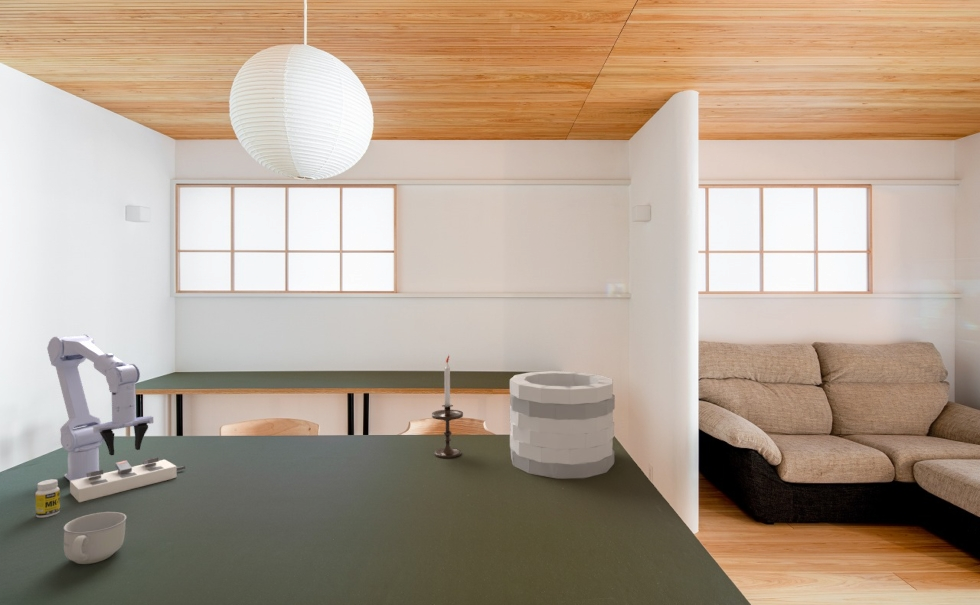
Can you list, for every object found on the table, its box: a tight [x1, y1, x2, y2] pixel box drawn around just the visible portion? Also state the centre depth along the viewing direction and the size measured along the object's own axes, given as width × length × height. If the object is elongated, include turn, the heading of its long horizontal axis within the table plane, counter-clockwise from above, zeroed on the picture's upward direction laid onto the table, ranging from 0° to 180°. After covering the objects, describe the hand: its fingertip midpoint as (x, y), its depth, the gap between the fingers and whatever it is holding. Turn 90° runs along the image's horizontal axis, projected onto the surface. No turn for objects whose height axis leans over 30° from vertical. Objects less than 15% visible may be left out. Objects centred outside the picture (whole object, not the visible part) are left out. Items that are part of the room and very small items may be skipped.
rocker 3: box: [142, 457, 160, 465], centre depth 159 cm, size 5×3×1 cm, turn 50°
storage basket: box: [509, 370, 616, 479], centre depth 173 cm, size 35×35×27 cm
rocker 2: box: [115, 460, 133, 474], centre depth 153 cm, size 5×3×1 cm, turn 51°
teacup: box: [63, 511, 127, 565], centre depth 110 cm, size 14×11×8 cm
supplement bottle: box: [35, 478, 61, 519], centre depth 133 cm, size 5×5×8 cm
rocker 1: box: [86, 469, 104, 477], centre depth 148 cm, size 5×3×1 cm, turn 50°
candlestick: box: [431, 355, 464, 459], centre depth 180 cm, size 11×11×35 cm
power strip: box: [69, 459, 186, 503], centre depth 154 cm, size 10×28×4 cm, turn 140°
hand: (124, 451), depth 152 cm, fingers open, 6 cm apart
